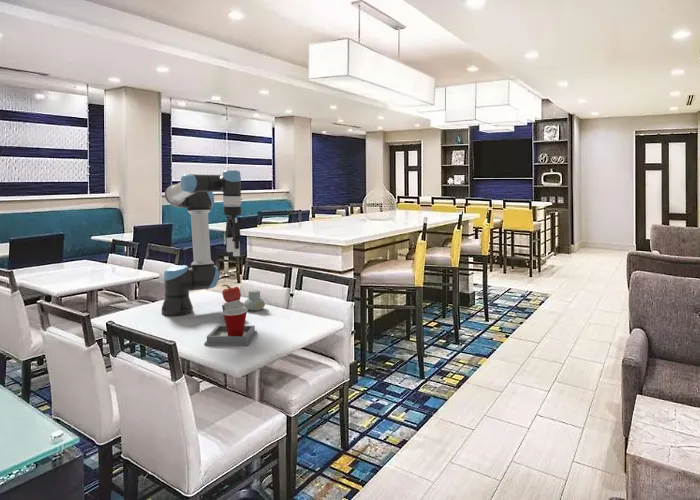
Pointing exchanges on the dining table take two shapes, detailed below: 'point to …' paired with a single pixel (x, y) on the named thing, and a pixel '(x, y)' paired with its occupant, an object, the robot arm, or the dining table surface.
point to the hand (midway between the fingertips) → (233, 254)
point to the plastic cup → (235, 320)
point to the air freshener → (254, 301)
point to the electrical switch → (231, 305)
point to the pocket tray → (230, 337)
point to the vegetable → (231, 294)
